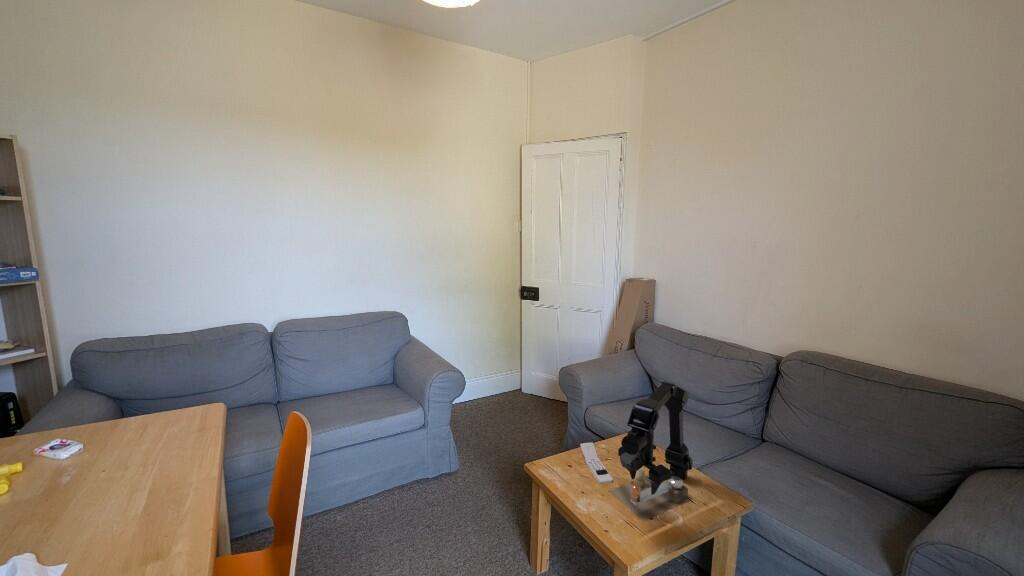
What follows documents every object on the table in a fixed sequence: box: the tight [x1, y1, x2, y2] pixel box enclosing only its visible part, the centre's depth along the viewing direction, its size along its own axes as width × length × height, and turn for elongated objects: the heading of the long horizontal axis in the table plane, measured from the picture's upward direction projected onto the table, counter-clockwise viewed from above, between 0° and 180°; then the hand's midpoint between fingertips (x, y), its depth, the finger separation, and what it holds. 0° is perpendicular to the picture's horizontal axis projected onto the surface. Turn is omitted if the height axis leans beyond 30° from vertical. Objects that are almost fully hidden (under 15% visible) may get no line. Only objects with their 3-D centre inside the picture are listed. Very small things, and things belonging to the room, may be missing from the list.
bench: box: [607, 474, 690, 522], centre depth 150 cm, size 22×18×6 cm
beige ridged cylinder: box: [632, 467, 646, 488], centre depth 156 cm, size 4×4×6 cm
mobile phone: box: [580, 442, 614, 485], centre depth 168 cm, size 6×6×25 cm
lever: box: [631, 476, 684, 505], centre depth 144 cm, size 23×5×6 cm, turn 117°
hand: (642, 486), depth 136 cm, fingers open, 9 cm apart
